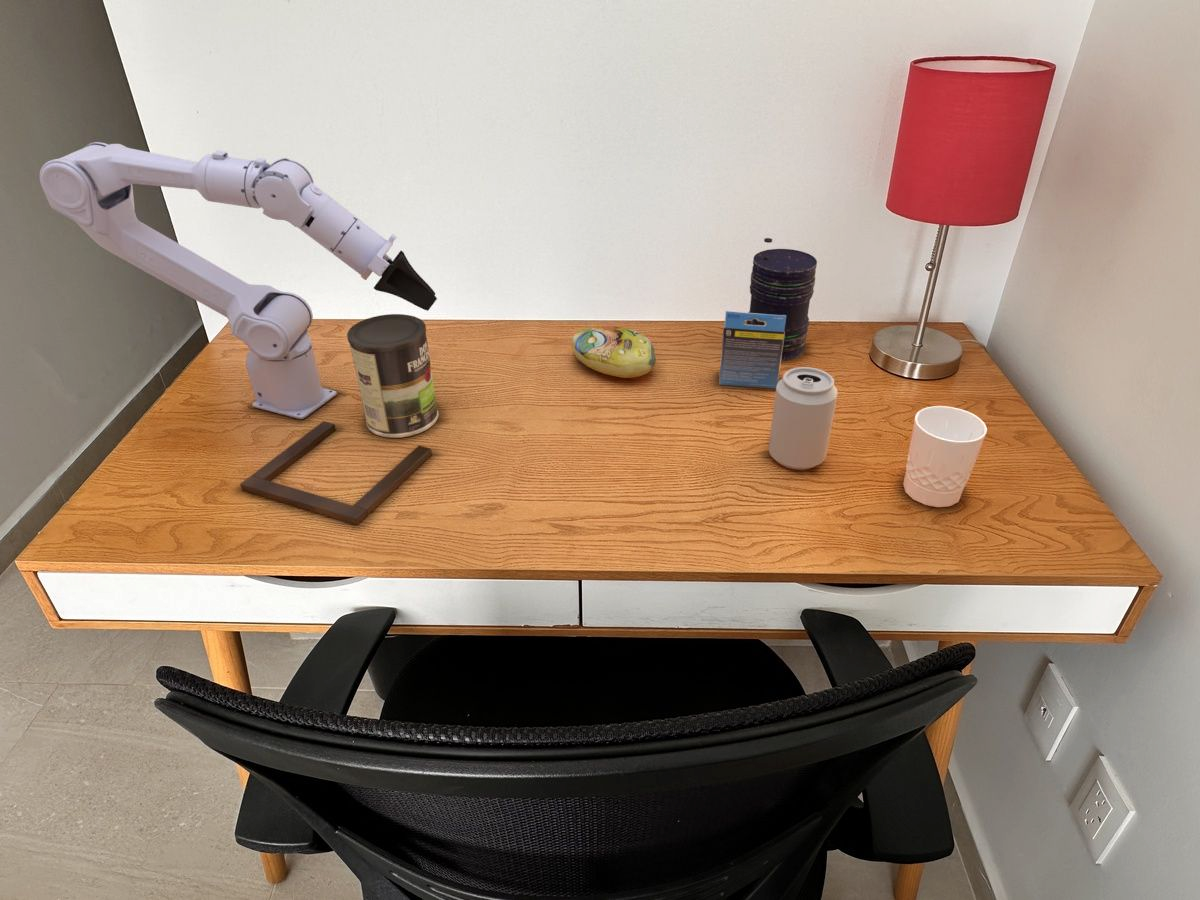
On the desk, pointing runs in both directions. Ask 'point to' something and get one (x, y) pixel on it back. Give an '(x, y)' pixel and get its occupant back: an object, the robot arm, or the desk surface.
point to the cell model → (614, 351)
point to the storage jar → (784, 293)
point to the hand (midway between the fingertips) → (431, 302)
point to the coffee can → (394, 374)
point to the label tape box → (751, 350)
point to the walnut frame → (322, 505)
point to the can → (802, 418)
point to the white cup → (942, 454)
